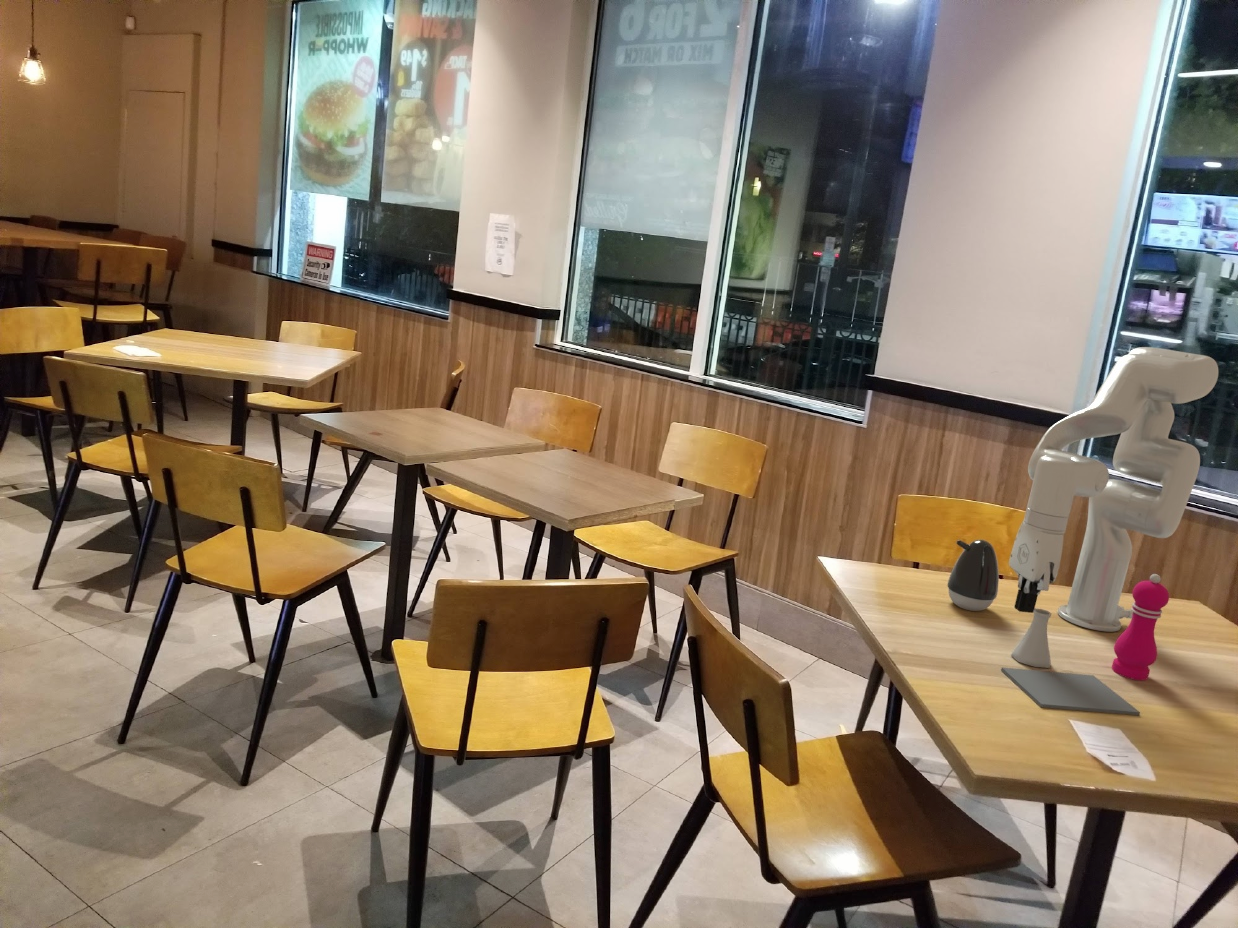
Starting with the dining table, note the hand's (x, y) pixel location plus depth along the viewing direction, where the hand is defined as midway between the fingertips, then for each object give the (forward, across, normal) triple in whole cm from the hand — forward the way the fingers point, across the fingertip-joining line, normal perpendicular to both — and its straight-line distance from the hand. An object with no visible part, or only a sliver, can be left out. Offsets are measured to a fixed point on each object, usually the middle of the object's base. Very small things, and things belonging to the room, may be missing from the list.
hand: (1023, 610), depth 185 cm
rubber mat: (+8, +19, 0) cm, 20 cm away
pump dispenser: (+8, -21, 0) cm, 23 cm away
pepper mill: (+8, +8, +19) cm, 22 cm away
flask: (+8, +6, 0) cm, 10 cm away
